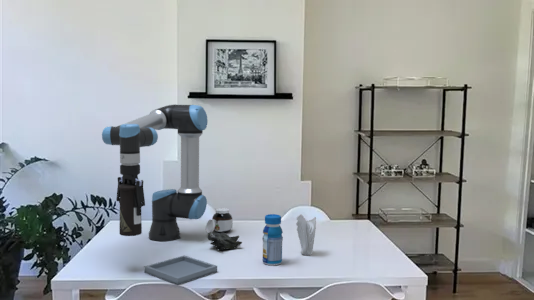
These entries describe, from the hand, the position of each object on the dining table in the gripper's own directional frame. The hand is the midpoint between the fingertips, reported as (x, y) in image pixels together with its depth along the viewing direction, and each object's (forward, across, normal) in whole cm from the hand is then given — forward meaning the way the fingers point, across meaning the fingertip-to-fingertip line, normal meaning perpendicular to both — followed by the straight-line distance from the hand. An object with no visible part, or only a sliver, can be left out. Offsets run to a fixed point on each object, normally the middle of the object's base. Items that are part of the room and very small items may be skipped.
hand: (130, 221), depth 204 cm
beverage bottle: (+20, +34, +46) cm, 60 cm away
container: (+5, 0, 0) cm, 5 cm away
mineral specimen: (+20, +5, +46) cm, 51 cm away
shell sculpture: (+20, +37, +66) cm, 78 cm away
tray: (+20, +16, +12) cm, 28 cm away
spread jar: (+20, -18, +65) cm, 70 cm away
